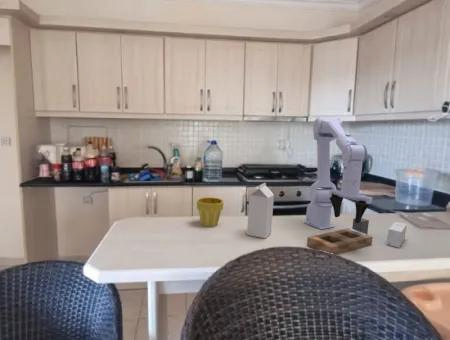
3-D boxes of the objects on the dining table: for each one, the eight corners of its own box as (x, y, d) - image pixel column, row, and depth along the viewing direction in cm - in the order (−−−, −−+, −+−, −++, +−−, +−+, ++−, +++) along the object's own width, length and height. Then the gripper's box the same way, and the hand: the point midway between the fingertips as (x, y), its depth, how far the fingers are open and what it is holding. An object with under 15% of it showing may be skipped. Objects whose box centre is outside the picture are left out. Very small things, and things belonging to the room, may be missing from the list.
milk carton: (271, 233, 120) (274, 183, 117) (265, 239, 114) (269, 186, 111) (253, 229, 123) (256, 181, 120) (246, 235, 117) (249, 184, 114)
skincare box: (405, 239, 121) (399, 248, 111) (392, 236, 123) (385, 245, 114) (407, 223, 120) (401, 231, 110) (394, 221, 122) (388, 228, 113)
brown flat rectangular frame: (306, 245, 109) (307, 236, 109) (347, 235, 121) (348, 227, 121) (330, 256, 101) (331, 246, 101) (371, 244, 113) (372, 235, 112)
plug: (351, 233, 124) (353, 216, 123) (358, 231, 126) (359, 214, 125) (360, 236, 121) (362, 218, 120) (367, 235, 123) (369, 217, 122)
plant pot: (206, 230, 120) (207, 204, 119) (191, 222, 128) (192, 198, 126) (227, 225, 126) (228, 201, 125) (212, 218, 134) (213, 196, 133)
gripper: (325, 177, 110) (322, 215, 112) (366, 185, 99) (361, 227, 101) (336, 176, 115) (333, 213, 117) (376, 183, 104) (372, 223, 106)
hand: (347, 219), depth 109 cm, fingers open, 7 cm apart
